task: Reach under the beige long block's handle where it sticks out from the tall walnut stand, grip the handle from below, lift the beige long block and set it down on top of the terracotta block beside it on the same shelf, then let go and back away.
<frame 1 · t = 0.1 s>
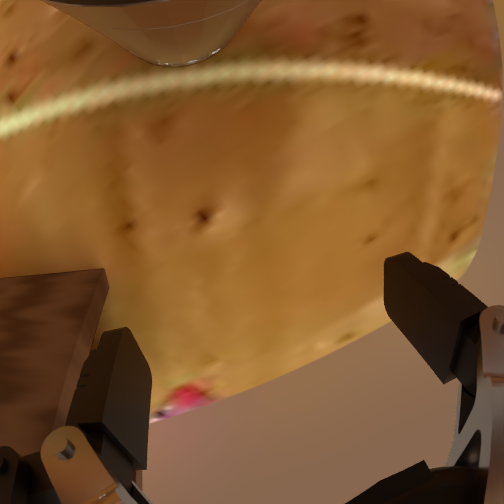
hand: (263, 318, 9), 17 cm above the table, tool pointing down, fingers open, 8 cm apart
walnut stand: (125, 340, 30), on the table
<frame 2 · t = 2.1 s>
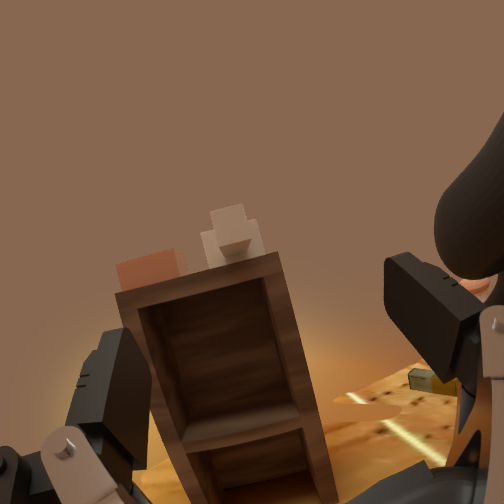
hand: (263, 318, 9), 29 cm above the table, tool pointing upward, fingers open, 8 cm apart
beige long block: (237, 264, 38), point 32 cm above the table, touching walnut stand
medication box: (435, 391, 50), on the table
pepper shaker: (483, 360, 52), on the table
terracotta block: (158, 284, 36), point 32 cm above the table, touching walnut stand
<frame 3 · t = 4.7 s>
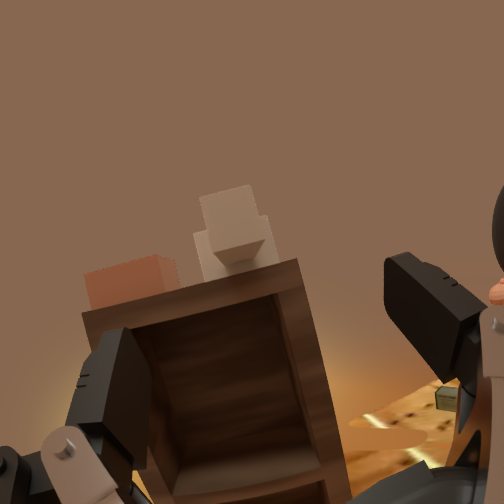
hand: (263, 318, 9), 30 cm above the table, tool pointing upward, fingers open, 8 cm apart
beige long block: (242, 274, 30), point 32 cm above the table, touching walnut stand
medication box: (465, 411, 41), on the table
terracotta block: (140, 300, 27), point 32 cm above the table, touching walnut stand
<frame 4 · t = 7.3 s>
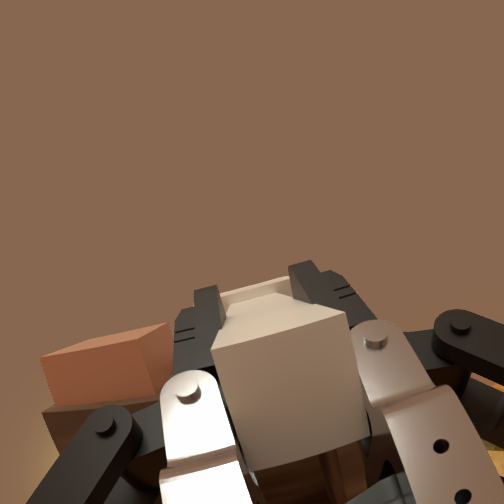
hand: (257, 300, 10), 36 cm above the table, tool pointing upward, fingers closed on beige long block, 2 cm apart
beige long block: (264, 346, 21), point 32 cm above the table, touching gripper, walnut stand
medication box: (495, 448, 32), on the table
terracotta block: (122, 384, 18), point 32 cm above the table, touching walnut stand
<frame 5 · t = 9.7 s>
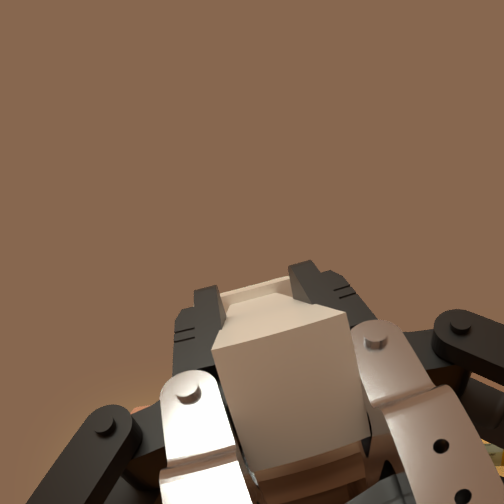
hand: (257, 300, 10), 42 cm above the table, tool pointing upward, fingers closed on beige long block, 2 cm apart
beige long block: (264, 346, 21), point 38 cm above the table, touching gripper
medication box: (500, 463, 32), on the table
when the fingers open (40 cm above the table, at t = 12.1 s): beige long block stays where it is, resting on terracotta block.
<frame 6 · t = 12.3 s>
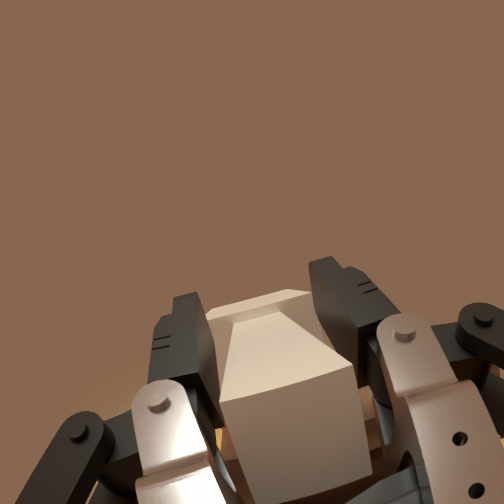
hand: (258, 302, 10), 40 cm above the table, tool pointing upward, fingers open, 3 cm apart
beige long block: (267, 361, 20), point 35 cm above the table, touching terracotta block
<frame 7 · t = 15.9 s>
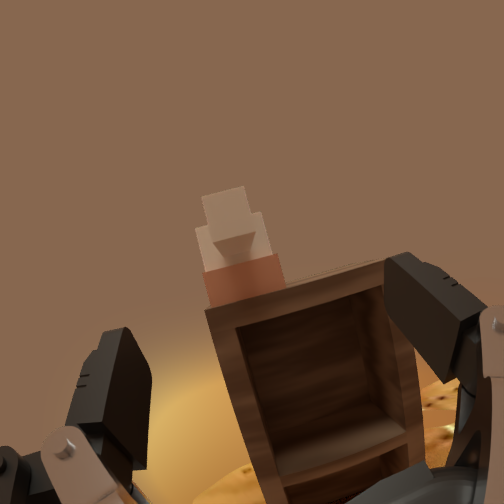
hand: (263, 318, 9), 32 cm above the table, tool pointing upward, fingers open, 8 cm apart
beige long block: (239, 266, 33), point 35 cm above the table, touching terracotta block
terracotta block: (247, 296, 31), point 32 cm above the table, touching beige long block, walnut stand
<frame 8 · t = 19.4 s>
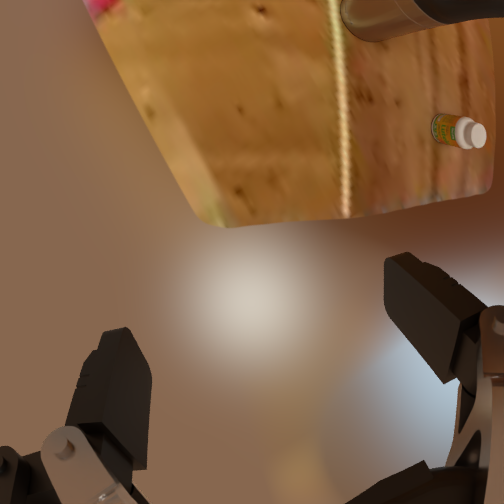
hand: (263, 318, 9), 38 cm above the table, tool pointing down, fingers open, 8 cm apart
supplement bottle: (440, 128, 47), on the table
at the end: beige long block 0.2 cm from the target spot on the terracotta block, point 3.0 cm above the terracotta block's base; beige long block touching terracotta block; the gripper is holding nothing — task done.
